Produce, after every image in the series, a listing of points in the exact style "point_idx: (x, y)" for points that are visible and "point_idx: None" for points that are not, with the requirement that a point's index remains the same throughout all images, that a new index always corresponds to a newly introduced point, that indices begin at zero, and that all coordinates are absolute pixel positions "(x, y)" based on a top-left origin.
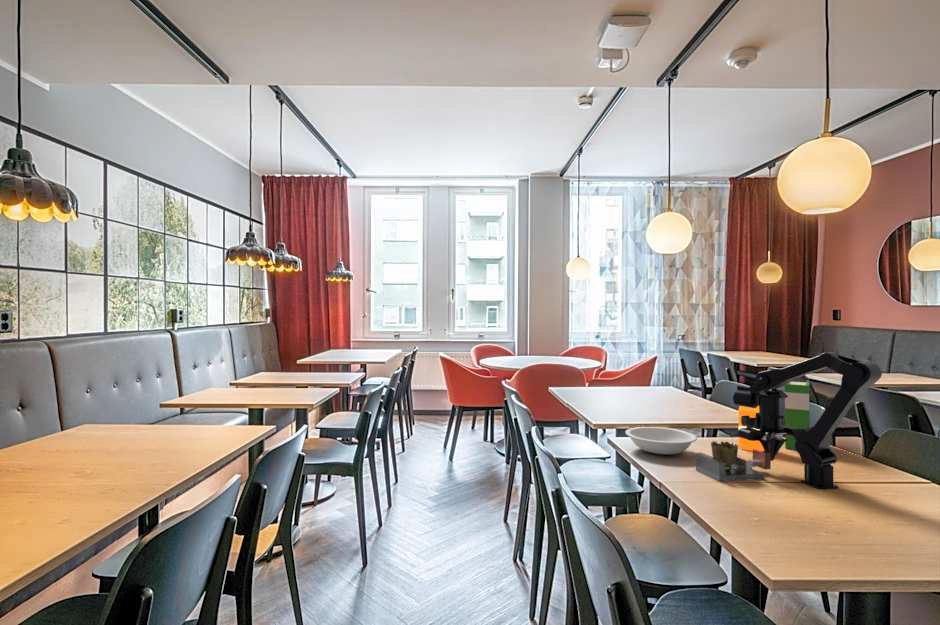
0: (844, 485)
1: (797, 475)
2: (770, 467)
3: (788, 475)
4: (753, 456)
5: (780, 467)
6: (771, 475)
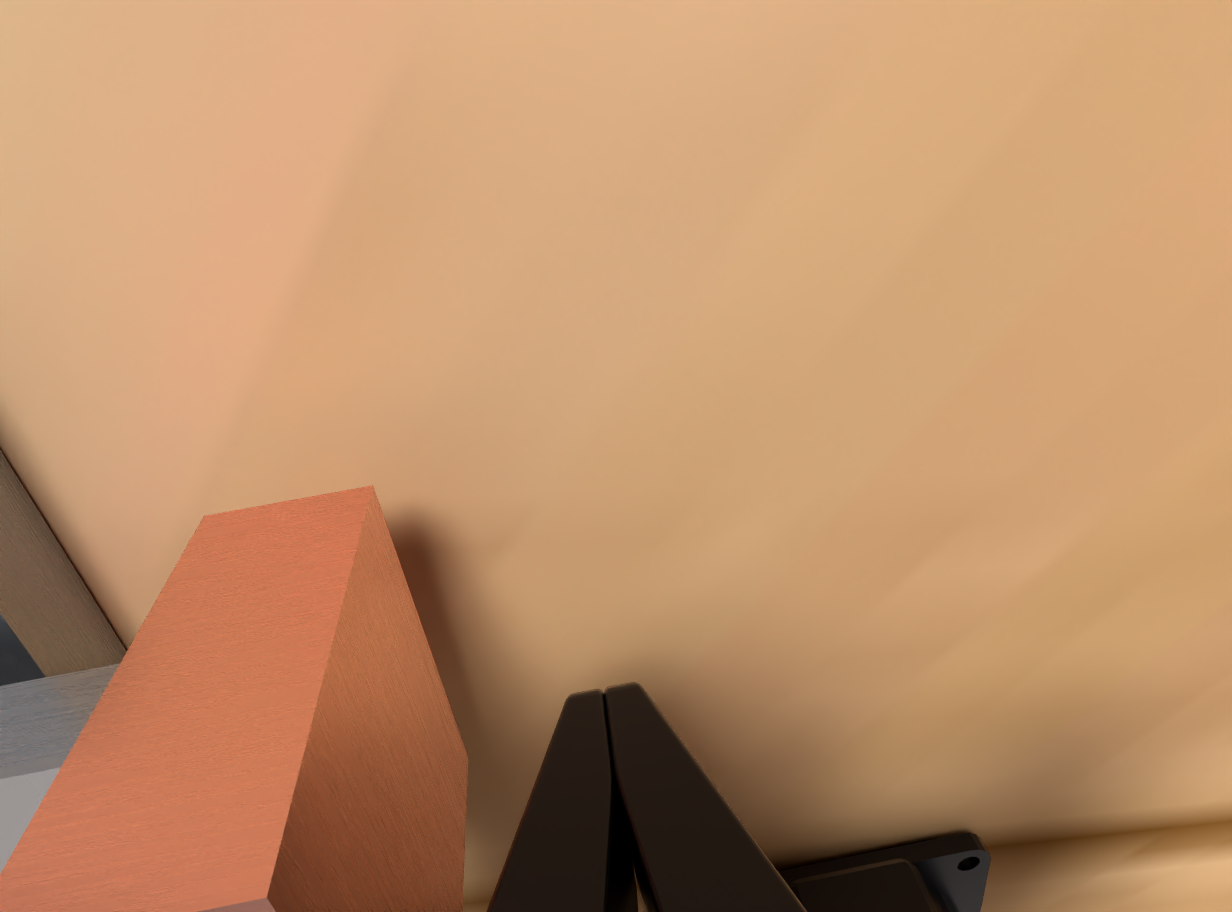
0: (1102, 899)
1: (904, 663)
2: (464, 788)
3: (760, 674)
4: (126, 712)
5: (1034, 229)
6: (468, 696)
